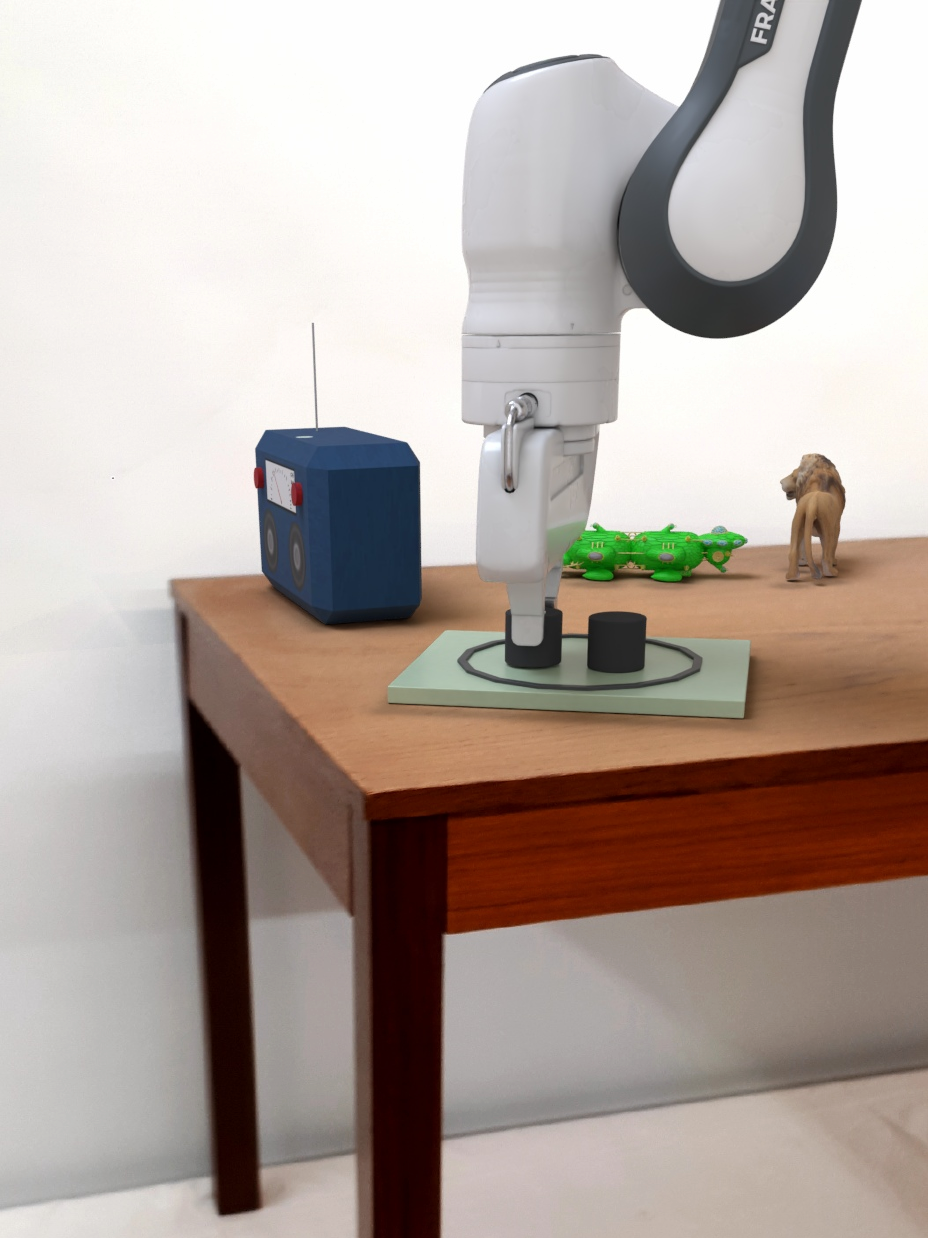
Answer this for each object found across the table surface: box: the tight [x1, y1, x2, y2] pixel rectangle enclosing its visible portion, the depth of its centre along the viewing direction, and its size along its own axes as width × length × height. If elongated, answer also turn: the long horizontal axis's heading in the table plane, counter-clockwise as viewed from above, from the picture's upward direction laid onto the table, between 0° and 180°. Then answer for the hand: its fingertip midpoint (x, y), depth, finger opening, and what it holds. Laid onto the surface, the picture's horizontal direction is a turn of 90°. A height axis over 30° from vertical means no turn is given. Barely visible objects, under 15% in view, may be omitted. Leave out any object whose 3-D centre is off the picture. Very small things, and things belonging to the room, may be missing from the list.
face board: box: [387, 629, 752, 719], centre depth 89 cm, size 20×16×1 cm
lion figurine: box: [779, 452, 847, 580], centre depth 122 cm, size 15×5×9 cm, turn 171°
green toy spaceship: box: [563, 522, 749, 582], centre depth 122 cm, size 7×18×4 cm, turn 80°
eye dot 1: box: [504, 607, 564, 668], centre depth 88 cm, size 3×3×3 cm
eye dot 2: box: [587, 610, 648, 673], centre depth 87 cm, size 3×3×3 cm
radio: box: [253, 322, 423, 625], centre depth 110 cm, size 21×9×20 cm, turn 18°
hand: (534, 635), depth 88 cm, fingers closed on eye dot 1, 3 cm apart
